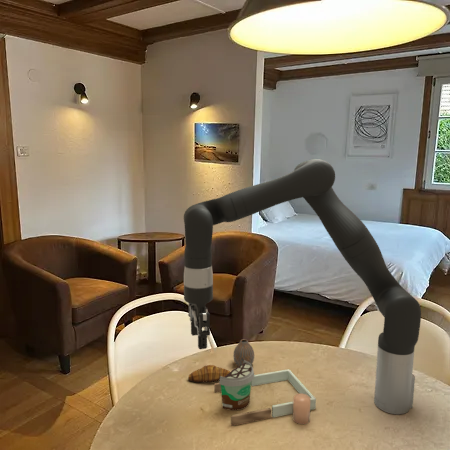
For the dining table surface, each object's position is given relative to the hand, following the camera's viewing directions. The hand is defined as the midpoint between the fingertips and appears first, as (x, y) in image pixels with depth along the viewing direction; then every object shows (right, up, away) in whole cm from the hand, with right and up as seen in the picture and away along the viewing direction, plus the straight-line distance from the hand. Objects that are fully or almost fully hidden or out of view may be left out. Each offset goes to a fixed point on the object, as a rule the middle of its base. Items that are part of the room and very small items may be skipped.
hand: (198, 341), depth 111 cm
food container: (+12, -20, +7) cm, 24 cm away
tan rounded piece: (+27, -21, 0) cm, 34 cm away
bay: (+23, -19, +10) cm, 31 cm away
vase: (+13, -16, +28) cm, 35 cm away
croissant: (+2, -18, +20) cm, 26 cm away
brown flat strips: (+12, -19, +7) cm, 24 cm away
